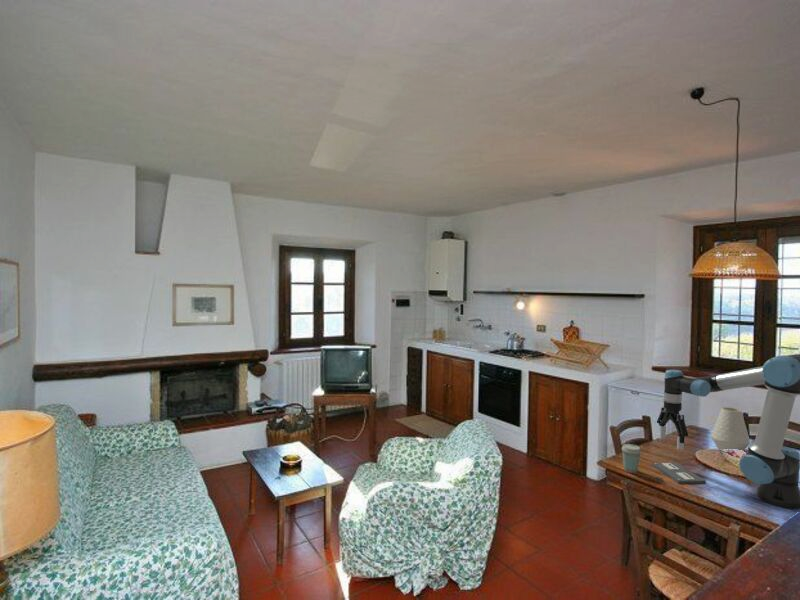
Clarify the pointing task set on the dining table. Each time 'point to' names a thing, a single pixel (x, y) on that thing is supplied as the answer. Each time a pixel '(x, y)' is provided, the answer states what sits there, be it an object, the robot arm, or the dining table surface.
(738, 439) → the vase
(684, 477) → the board
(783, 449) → the robot arm
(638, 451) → the coffee cup
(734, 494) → the dining table surface
